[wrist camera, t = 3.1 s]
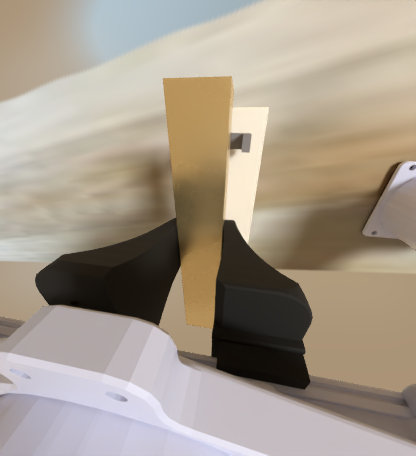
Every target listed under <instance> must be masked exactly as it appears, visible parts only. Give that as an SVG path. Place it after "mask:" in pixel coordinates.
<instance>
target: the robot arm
mask: <svg viewBox="0 0 416 456" xmlns="http://www.w3.org/2000/svg"><path fill="white" fill-rule="evenodd" d="M412 165H413V167H412V168H411V169H410V170H409V168H410V167H411V166H412ZM373 231H375V232H374V233H372V232H373ZM362 233H363V234H364V235H365V236H370V237H382V238H393V239H400V240H402V241H403V242H405V243H406V244H407V245H409V246H410V247H412V248H413V249H415V250H416V161H404V162H402V163H400V164H399V165H398V167H397V168H396V170H395V172H394V174H393V176H392V178H391V179H390V181H389V183H388V185H387V187H386V189H385V190H384V192H383V194H382V196H381V198H380V200H379V201H378V203H377V205H376V207H375V209H374V211H373V212H372V214H371V216H370V218H369V220H368V221H367V223H366V225H365V227H364V229H363V231H362ZM180 266H181V261H180V251H179V240H178V230H177V220H176V218H174V219H172V220H170V221H169V222H167V223H165V224H163V225H161V226H160V227H158V228H156V229H154V230H152V231H150V232H148V233H146V234H143V235H141V236H138V237H136V238H133V239H131V240H128V241H124V242H121V243H118V244H115V245H111V246H107V247H103V248H99V249H94V250H89V251H83V252H77V253H71V254H64V255H62V256H60V257H59V258H58V259H56V260H55V261H54V262H52V263H51V264H49V265H48V266H47V267H45V268H44V269H43V270H41V271H40V272H39V273H38V274H36V278H35V282H36V286H37V288H38V290H39V292H40V293H41V294H42V296H43V297H44V299H45V300H46V301H47V303H48V304H49V305H48V306H43V307H41V308H40V309H39V310H38V311H37V312H36V313H35V314H34V315H33V316H32V317H31V318H29V319H28V320H27V321H21V320H16V319H11V318H5V317H0V456H416V384H412V385H409V386H407V387H406V388H405V389H404V390H403V391H402V393H401V392H395V391H390V390H385V389H379V388H374V387H369V386H363V385H358V384H353V383H348V382H343V381H337V380H332V379H326V378H321V377H316V376H311V375H309V374H308V370H307V367H306V364H305V360H304V356H303V354H305V347H304V344H303V340H302V339H303V337H304V335H305V334H306V332H307V330H308V328H309V326H310V324H311V321H312V318H313V317H312V312H311V309H310V306H309V304H308V301H307V299H306V297H305V295H304V293H303V291H302V289H301V288H300V286H299V284H298V283H296V282H295V281H293V280H291V279H289V278H288V277H286V276H285V275H283V274H281V273H279V272H278V271H277V270H275V269H274V268H272V267H271V266H270V265H268V264H267V263H266V262H265V261H263V260H262V259H261V258H260V257H259V256H258V255H257V254H256V253H255V252H254V251H253V250H252V249H251V248H250V246H249V245H248V244H247V243H246V241H245V240H244V238H243V237H242V235H241V233H240V232H239V230H238V228H237V225H236V222H235V221H234V220H225V221H224V226H223V242H222V255H221V260H220V265H219V269H218V273H217V277H216V291H215V313H214V324H213V331H212V356H206V355H200V354H195V353H190V352H184V351H179V350H177V348H176V345H175V343H174V342H173V340H172V338H171V337H170V335H169V333H168V332H166V331H165V330H163V329H162V328H160V327H159V323H160V319H161V316H162V312H163V310H164V306H165V303H166V300H167V297H168V294H169V291H170V289H171V286H172V283H173V281H174V279H175V276H176V274H177V272H178V270H179V268H180Z"/></svg>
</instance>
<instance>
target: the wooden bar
mask: <svg viewBox="0 0 416 456" xmlns="http://www.w3.org/2000/svg"><path fill="white" fill-rule="evenodd" d="M163 85H164V95H165V106H166V116H167V126H168V137H169V147H170V157H171V168H172V178H173V189H174V199H175V209H176V220H177V230H178V240H179V251H180V261H181V271H182V281H183V292H184V302H185V312H186V323H187V325H193V326H200V327H205V328H212V329H213V324H214V313H215V291H216V277H217V273H218V269H219V265H220V260H221V255H222V242H223V226H224V221H225V215H226V200H227V185H228V170H229V155H230V140H231V125H232V110H233V95H234V88H233V82H232V76H229V77H196V78H163Z"/></svg>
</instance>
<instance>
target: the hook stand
mask: <svg viewBox="0 0 416 456" xmlns="http://www.w3.org/2000/svg"><path fill="white" fill-rule="evenodd" d="M268 111H269V107H233V110H232V125H231V140H230V155H229V170H228V185H227V200H226V215H225V220H234V221H235V222H236V225H237V228H238V230H239V232H240V233H241V235H242V237H243V238H244V240H245V241H246V243H247V244H248V240H249V233H250V227H251V220H252V214H253V207H254V201H255V194H256V188H257V182H258V175H259V169H260V162H261V156H262V149H263V143H264V136H265V130H266V124H267V117H268Z"/></svg>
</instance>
